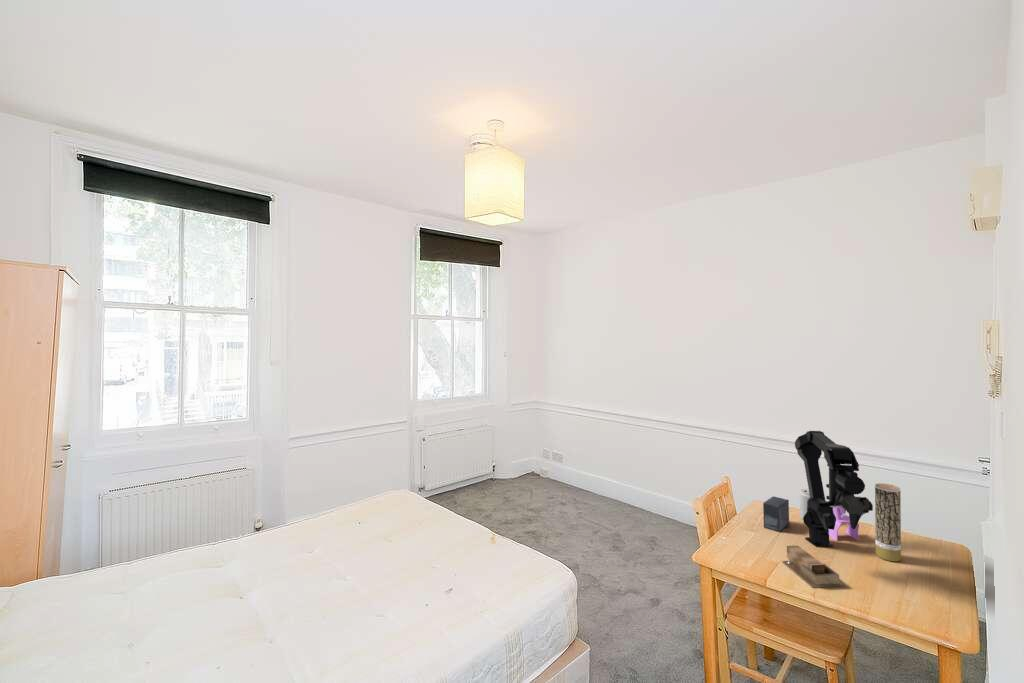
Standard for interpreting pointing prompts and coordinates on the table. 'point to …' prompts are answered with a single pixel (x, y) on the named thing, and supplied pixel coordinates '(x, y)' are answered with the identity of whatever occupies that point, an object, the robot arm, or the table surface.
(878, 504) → the log-patterned cylinder
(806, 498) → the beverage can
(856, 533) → the toy chair
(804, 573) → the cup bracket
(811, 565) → the walnut rail
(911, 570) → the table surface
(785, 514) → the small box
